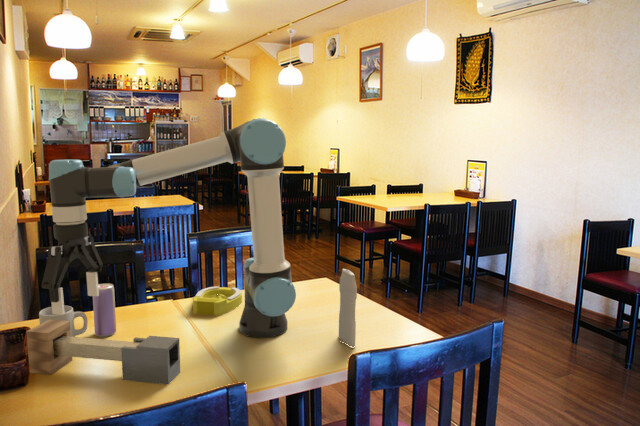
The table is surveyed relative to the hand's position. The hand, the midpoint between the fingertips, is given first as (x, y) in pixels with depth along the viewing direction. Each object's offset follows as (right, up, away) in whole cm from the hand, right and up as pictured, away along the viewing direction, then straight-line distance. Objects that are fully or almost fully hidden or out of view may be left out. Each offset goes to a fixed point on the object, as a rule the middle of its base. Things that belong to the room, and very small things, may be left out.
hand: (76, 304), depth 121 cm
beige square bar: (+7, -13, 0) cm, 15 cm away
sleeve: (+20, -18, -2) cm, 27 cm away
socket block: (-8, -17, +2) cm, 19 cm away
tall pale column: (+70, -15, +20) cm, 74 cm away
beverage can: (-3, -14, +24) cm, 28 cm away
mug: (-11, -15, +15) cm, 24 cm away
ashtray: (+25, -10, +51) cm, 58 cm away
